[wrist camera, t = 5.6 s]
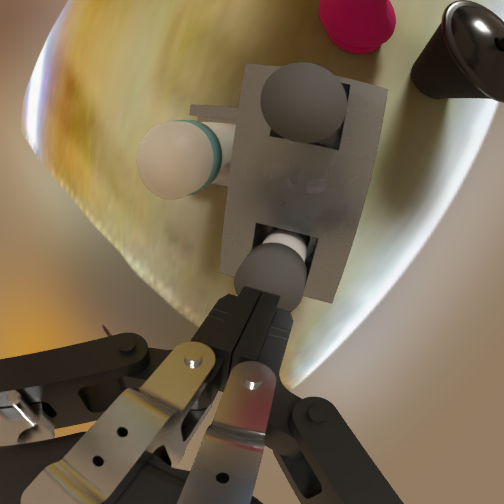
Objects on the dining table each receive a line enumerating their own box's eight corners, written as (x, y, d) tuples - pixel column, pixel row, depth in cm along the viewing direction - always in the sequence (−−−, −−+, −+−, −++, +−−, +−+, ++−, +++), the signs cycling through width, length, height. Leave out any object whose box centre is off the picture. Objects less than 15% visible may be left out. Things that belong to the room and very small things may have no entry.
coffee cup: (221, 121, 27) (138, 119, 15) (267, 126, 26) (209, 122, 14) (215, 165, 29) (135, 194, 17) (260, 173, 28) (201, 208, 16)
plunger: (291, 85, 14) (266, 57, 8) (344, 96, 13) (352, 71, 7) (283, 134, 15) (254, 134, 10) (336, 145, 15) (338, 151, 9)
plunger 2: (271, 207, 17) (238, 247, 12) (319, 219, 17) (311, 266, 11) (263, 251, 19) (231, 305, 13) (308, 263, 18) (294, 323, 13)
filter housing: (205, 91, 27) (103, 74, 13) (357, 114, 24) (387, 89, 10) (194, 188, 32) (100, 235, 18) (334, 219, 29) (331, 303, 15)
